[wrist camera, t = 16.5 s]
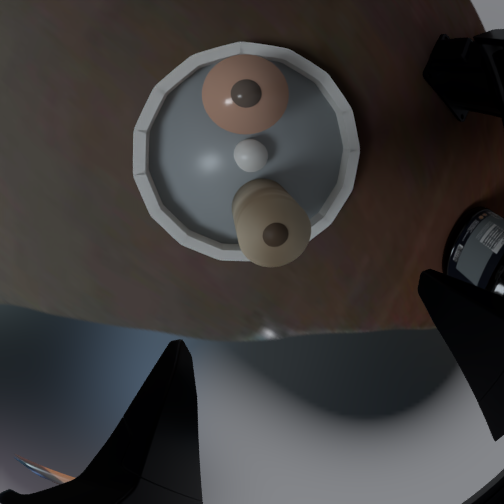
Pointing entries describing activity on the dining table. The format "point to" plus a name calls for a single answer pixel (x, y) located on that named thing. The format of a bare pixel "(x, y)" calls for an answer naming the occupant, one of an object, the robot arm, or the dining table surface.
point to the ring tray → (241, 151)
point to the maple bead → (269, 223)
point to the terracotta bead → (245, 94)
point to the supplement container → (477, 250)
